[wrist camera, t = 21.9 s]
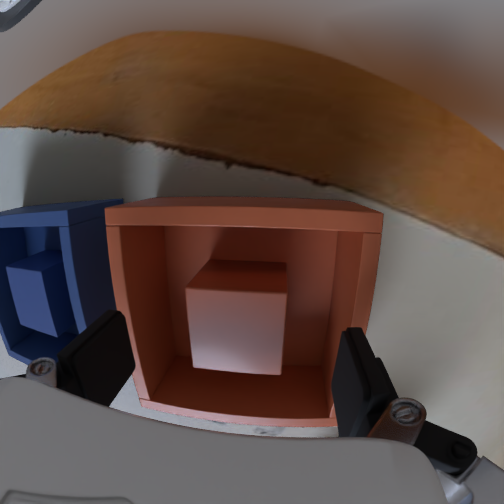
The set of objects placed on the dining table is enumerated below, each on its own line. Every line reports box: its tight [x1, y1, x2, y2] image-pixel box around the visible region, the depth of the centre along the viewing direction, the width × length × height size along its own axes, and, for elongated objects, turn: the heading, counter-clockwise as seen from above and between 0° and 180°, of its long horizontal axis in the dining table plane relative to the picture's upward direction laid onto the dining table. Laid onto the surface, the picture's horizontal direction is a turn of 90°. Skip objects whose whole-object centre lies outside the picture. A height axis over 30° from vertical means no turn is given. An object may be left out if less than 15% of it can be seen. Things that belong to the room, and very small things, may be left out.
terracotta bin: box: [105, 196, 383, 427], centre depth 15 cm, size 12×12×6 cm
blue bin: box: [0, 199, 123, 365], centre depth 16 cm, size 12×12×6 cm
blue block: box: [6, 250, 76, 337], centre depth 16 cm, size 4×4×4 cm
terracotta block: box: [185, 259, 288, 375], centre depth 15 cm, size 4×4×4 cm
